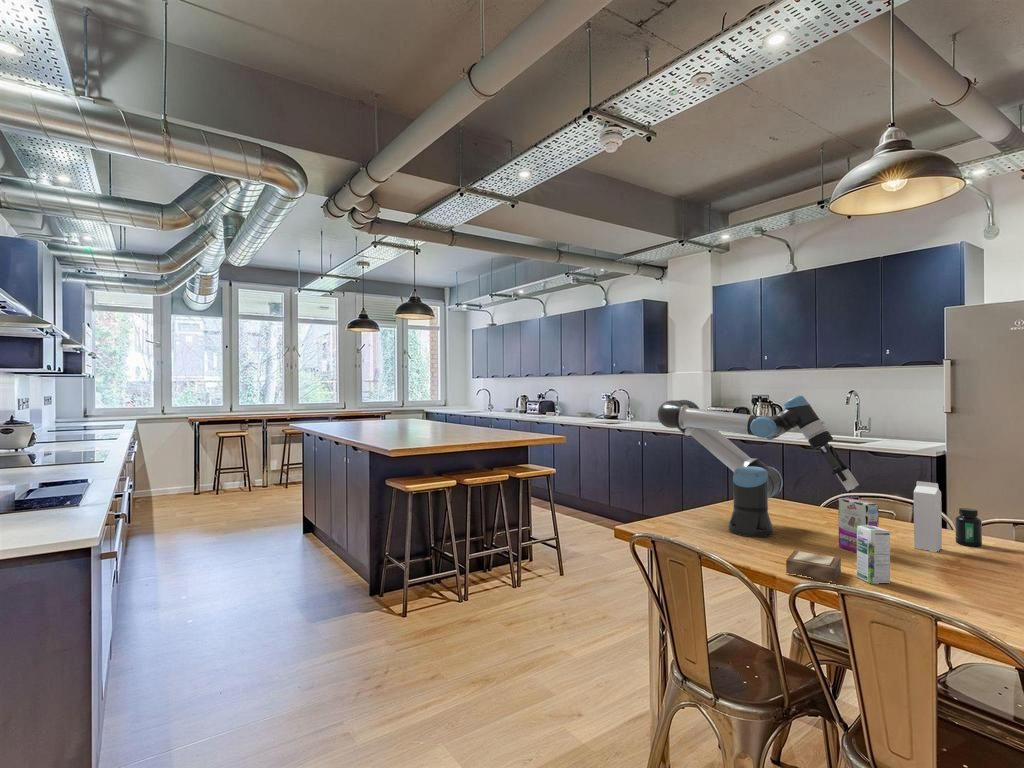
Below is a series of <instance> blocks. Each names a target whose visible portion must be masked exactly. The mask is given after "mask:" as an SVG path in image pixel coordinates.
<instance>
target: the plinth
mask: <svg viewBox="0 0 1024 768" xmlns="http://www.w3.org/2000/svg"><path fill="white" fill-rule="evenodd" d="M841 559H842V558H841V557H838V556H831V555H827V554H826V555H825V554H820V553H813V552H808V551H807V552H806V551H801V550H793V552H791V554H790V555H789V556H788V558H787V559H786V560H785V562H786V564H785V571H786V572H785V573H789V574H796V575H802V576H807V577H811V578H813V579H812V580H814V579H818V580H817V581H819V580H821V581H820V582H825V581H832V582H835V581H836V580H837V581H838V579H839V577H840V574H841V572H842V571H841V570H842V567H841V565H842V564H841V563H842V560H841ZM838 576H839V577H838ZM837 578H838V579H837ZM837 581H836V582H837Z"/></svg>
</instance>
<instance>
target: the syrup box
mask: <svg viewBox="0 0 1024 768" xmlns="http://www.w3.org/2000/svg"><path fill="white" fill-rule="evenodd" d="M857 577H858V578H857ZM856 578H857V579H860V580H862V581H864V582H867V583H868V584H870V583H871V584H870V585H880V584H879V583H889V584H890V583H891V530H887V529H884V528H882V527H876V526H869V525H863V526H857V553H856Z"/></svg>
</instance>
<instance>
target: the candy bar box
mask: <svg viewBox="0 0 1024 768" xmlns="http://www.w3.org/2000/svg"><path fill="white" fill-rule="evenodd" d="M863 525H869V526H876V527H879V525H880V524H879V503H875V502H871V501H867V500H866V501H865V500H861V499H856V498H851V497H843V498H842V497H841V498H838V548H840V549H843V550H847V551H849V552H853V553H856V554H857V526H863ZM879 528H880V527H879Z"/></svg>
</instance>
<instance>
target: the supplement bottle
mask: <svg viewBox="0 0 1024 768" xmlns="http://www.w3.org/2000/svg"><path fill="white" fill-rule="evenodd" d="M978 512H979V511H978V510H977V509H974V508H970V507H969V508H968V507H959V508H958V514H959V515H957V516H956V518H955V542H956V544H957V543H958V544H957V545H959V544H960V546H962V545H963V547H969V548H981V547H982V546H983V541H982V540H983V523H982V520H981V518H979V517H978V516H979V513H978Z"/></svg>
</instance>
